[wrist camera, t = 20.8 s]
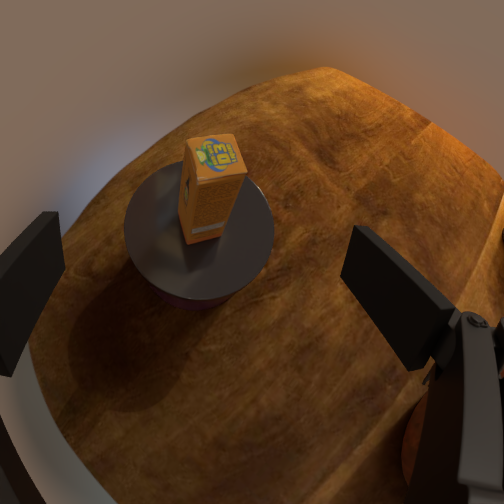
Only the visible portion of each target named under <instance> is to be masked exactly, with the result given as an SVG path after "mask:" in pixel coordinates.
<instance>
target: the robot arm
mask: <svg viewBox="0 0 504 504" xmlns="http://www.w3.org/2000/svg"><path fill="white" fill-rule="evenodd" d="M64 271H65V263H64V256H63V249H62V241H61V233H60V224H59V214H58V212H42V213H41V214H40V215H39V216H38V217H37V218H36V219H35V220H34V221H33V222H32V223H31V224H30V225H29V226H28V227H27V228H26V229H25V230H24V231H23V232H22V233H21V234H20V235H19V236H18V237H17V238H16V239H15V240H14V241H13V242H12V243H11V244H10V245H9V247H7V249H6V250H5V251H4V252H3V253H2V254H1V255H0V375H2V376H7V377H12V374H13V372H14V370H15V368H16V365H17V363H18V361H19V358H20V356H21V354H22V352H23V349H24V347H25V345H26V343H27V341H28V339H29V337H30V334H31V332H32V330H33V328H34V326H35V324H36V322H37V320H38V318H39V316H40V314H41V312H42V310H43V309H44V307H45V305H46V303H47V301H48V299H49V297H50V295H51V294H52V292H53V290H54V288H55V286H56V285H57V283H58V281H59V279H60V277H61V276H62V274H63V272H64ZM340 277H341V278H342V280H343V281H344V282H345V284H346V285H347V286H348V288H349V289H350V290H351V292H352V293H353V294H354V296H355V297H356V299H357V300H358V301H359V303H360V304H361V305H362V307H363V308H364V309H365V311H366V312H367V314H368V315H369V316H370V318H371V319H372V320H373V322H374V323H375V325H376V326H377V327H378V329H379V330H380V332H381V333H382V334H383V336H384V337H385V339H386V340H387V342H388V343H389V344H390V346H391V347H392V349H393V350H394V352H395V353H396V354H397V356H398V357H399V359H400V360H401V362H402V363H403V365H404V366H405V368H406V369H407V371H408V372H409V371H414V370H418V369H422V368H424V366H425V365H426V363H427V361H428V359H429V358H430V356H431V357H432V358H433V359H434V360H435V363H434V365H433V366H432V368H431V370H430V371H429V373H428V374H427V376H426V378H425V379H424V381H423V383H422V384H423V385H425V383H426V382H427V381H428V380H430V382H429V385H428V386H429V389H428V397H427V403H426V410H425V416H424V421H423V427H422V432H421V437H420V442H419V447H418V451H417V456H416V460H415V464H414V468H413V472H412V476H411V480H410V483H409V487H408V490H407V494H406V497H405V500H404V504H504V377H503V378H502V377H501V375H500V373H501V372H502V370H503V369H504V317H503V318H501V319H500V321H499V323H498V325H497V327H490V326H489V324H488V323H487V321H486V320H485V319H484V318H482V317H481V316H480V315H478V314H476V313H473V312H469V311H467V312H463V313H461V312H460V311H459V310H458V309H457V308H456V307H455V306H454V305H453V304H452V303H451V302H450V301H449V300H448V299H447V298H446V297H445V296H444V295H443V294H442V293H441V292H440V291H439V290H437V288H436V287H435V286H434V285H432V284H431V283H430V282H429V281H428V280H427V279H426V278H425V277H424V276H423V275H422V274H421V273H420V272H418V271H417V270H416V269H415V268H414V267H413V266H412V265H411V264H410V263H409V262H408V261H407V260H405V259H404V258H403V257H402V256H401V255H400V254H399V253H398V252H397V251H395V250H394V249H393V248H392V247H391V246H390V245H389V244H387V243H386V242H385V241H384V240H383V239H382V238H381V237H379V236H378V235H377V234H376V233H375V232H374V231H372V230H371V229H370V228H369V227H368V226H358V225H354V227H353V231H352V235H351V239H350V243H349V246H348V250H347V254H346V257H345V261H344V264H343V268H342V271H341V275H340ZM0 504H46V502H45V501H44V499H43V498H42V496H41V494H40V493H39V491H38V489H37V488H36V486H35V484H34V483H33V481H32V479H31V477H30V476H29V474H28V472H27V470H26V469H25V466H24V465H23V463H22V461H21V459H20V457H19V455H18V453H17V451H16V449H15V447H14V445H13V443H12V441H11V439H10V436H9V434H8V432H7V430H6V427H5V425H4V423H3V420H2V418H1V416H0Z"/></svg>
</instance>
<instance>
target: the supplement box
mask: <svg viewBox="0 0 504 504" xmlns="http://www.w3.org/2000/svg"><path fill="white" fill-rule="evenodd" d="M246 173H247V169H246V167H245V164H244V161H243V159H242V156H241V153H240V151H239V148H238V145H237V143H236V140H235V137H234V135H233V134H219V135H211V136H204V137H197V138H192V139H187V140H186V146H185V153H184V160H183V168H182V176H181V185H180V194H179V206H178V214H179V219H180V222H181V226H182V230H183V234H184V237H185V241H186V243H187V244H188V245H189V244H193V243H197V242H201V241H204V240H208V239H212V238H216V237H220V236H222V233H223V230H224V228H225V225H226V223H227V220H228V218H229V215H230V213H231V210H232V208H233V205H234V203H235V200H236V198H237V195H238V193H239V190H240V188H241V185H242V183H243V180H244V178H245V175H246Z"/></svg>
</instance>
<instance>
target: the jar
mask: <svg viewBox="0 0 504 504" xmlns="http://www.w3.org/2000/svg"><path fill="white" fill-rule="evenodd" d="M182 168H183V161H180V162H176V163H173V164H170V165H167V166H165V167H163V168H161V169H159V170H158V171H156V172H155V173H153V174H152V175H150V176H149V177H148V178H147V179H146V180H145V181H144V182H143V183H142V184H141V185H140V186H139V187H138V189H137V190H136V192H135V193H134V194H133V196H132V198H131V200H130V202H129V205H128V208H127V211H126V215H125V220H124V236H125V242H126V246H127V250H128V252H129V255H130V257H131V259H132V261H133V263H134V265H135V267H136V268H137V270H138V271H139V273H140V274H141V275H142V277H143V278H144V279H145V280H146V281H147V282H148V284H149V285H150V287H151V288H152V290H153V291H154V292H155V293H156V294H157V295H158V296H159V297H160V298H161V299H162V300H164V301H165V302H166V303H168V304H170V305H172V306H174V307H177V308H180V309H184V310H192V311H198V310H206V309H210V308H213V307H216V306H218V305H220V304H222V303H223V302H225V301H226V300H227V299H229V298H230V297H231V296H232V295H233V294H235V293H237V292H238V291H240V290H241V289H243V288H244V287H246V286H247V285H248V284H249V283H250V282H251V281H252V280H253V279H254V278H255V277H256V276H257V275H258V274H259V273H260V271H261V270H262V269H263V267H264V265H265V264H266V262H267V260H268V258H269V256H270V253H271V250H272V246H273V241H274V221H273V216H272V212H271V209H270V207H269V204H268V202H267V200H266V198H265V196H264V195H263V193H262V192H261V190H260V189H259V188H258V186H257V185H256V184H255V183H254V182H253V181H252V180H251V179H249V178H248V177H247V176H246V175H245V178H244V180H243V183H242V185H241V188H240V190H239V193H238V195H237V198H236V200H235V203H234V205H233V208H232V210H231V213H230V215H229V218H228V220H227V223H226V225H225V228H224V230H223V233H222V236H220V237H216V238H212V239H208V240H204V241H201V242H197V243H193V244H189V245H188V244H187V243H186V241H185V237H184V234H183V230H182V226H181V222H180V219H179V214H178V206H179V194H180V185H181V176H182Z"/></svg>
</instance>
